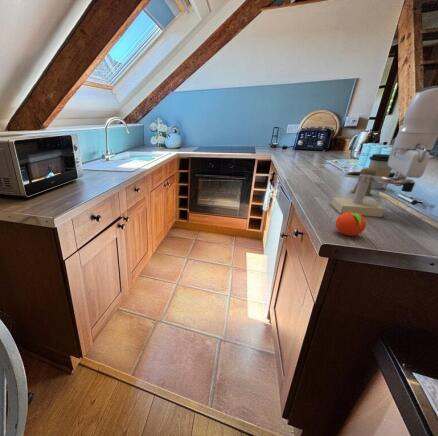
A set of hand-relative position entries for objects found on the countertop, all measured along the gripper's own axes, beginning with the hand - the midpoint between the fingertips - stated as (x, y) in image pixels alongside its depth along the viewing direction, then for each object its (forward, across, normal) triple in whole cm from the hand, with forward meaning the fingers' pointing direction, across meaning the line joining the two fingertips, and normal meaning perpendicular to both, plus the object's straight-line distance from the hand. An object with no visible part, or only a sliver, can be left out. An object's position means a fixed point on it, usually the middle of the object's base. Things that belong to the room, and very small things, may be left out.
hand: (396, 185), depth 82 cm
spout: (+1, -2, +4) cm, 4 cm away
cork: (+10, +26, +3) cm, 28 cm away
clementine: (+11, -26, +14) cm, 32 cm away
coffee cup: (+10, +39, -4) cm, 41 cm away
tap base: (+10, -1, +9) cm, 14 cm away
